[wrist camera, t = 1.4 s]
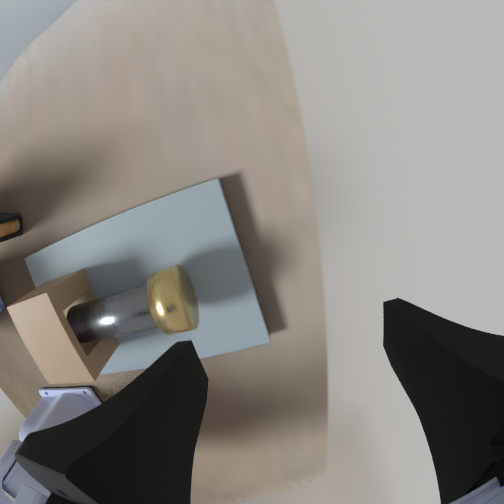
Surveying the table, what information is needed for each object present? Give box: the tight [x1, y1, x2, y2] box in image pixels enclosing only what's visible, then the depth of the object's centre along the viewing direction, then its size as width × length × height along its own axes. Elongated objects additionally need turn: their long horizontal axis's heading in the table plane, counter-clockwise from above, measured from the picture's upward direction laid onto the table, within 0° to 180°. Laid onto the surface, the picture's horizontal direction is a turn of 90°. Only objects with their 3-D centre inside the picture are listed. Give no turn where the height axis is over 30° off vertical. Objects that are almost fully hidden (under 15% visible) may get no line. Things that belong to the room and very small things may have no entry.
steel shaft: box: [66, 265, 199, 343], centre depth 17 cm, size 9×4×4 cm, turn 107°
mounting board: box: [7, 178, 271, 384], centre depth 17 cm, size 18×12×6 cm, turn 107°
